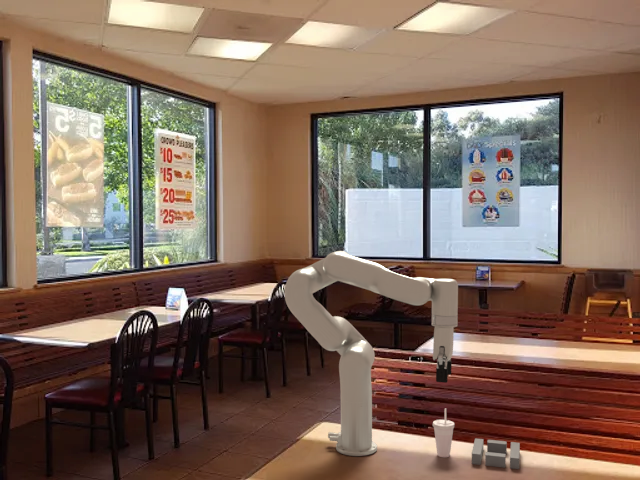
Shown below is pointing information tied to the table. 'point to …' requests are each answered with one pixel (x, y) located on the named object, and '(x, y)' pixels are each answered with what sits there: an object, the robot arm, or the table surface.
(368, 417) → the robot arm
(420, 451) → the table surface
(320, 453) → the table surface
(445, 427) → the smoothie
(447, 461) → the table surface
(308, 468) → the table surface
